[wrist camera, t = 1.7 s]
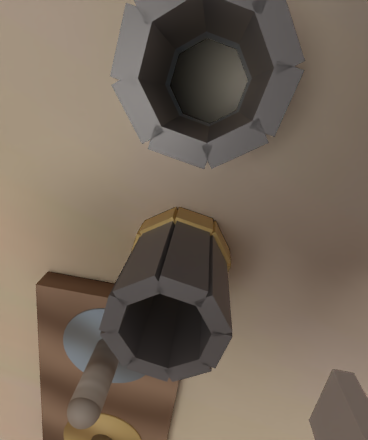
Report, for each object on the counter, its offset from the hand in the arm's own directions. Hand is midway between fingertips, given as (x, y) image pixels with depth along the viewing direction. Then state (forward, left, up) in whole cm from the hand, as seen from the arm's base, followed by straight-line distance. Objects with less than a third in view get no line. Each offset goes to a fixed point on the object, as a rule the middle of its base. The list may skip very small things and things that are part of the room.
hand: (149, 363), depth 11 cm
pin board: (+10, +8, -8) cm, 15 cm away
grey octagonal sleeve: (-6, -8, -8) cm, 13 cm away
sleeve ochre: (0, 0, -8) cm, 8 cm away
